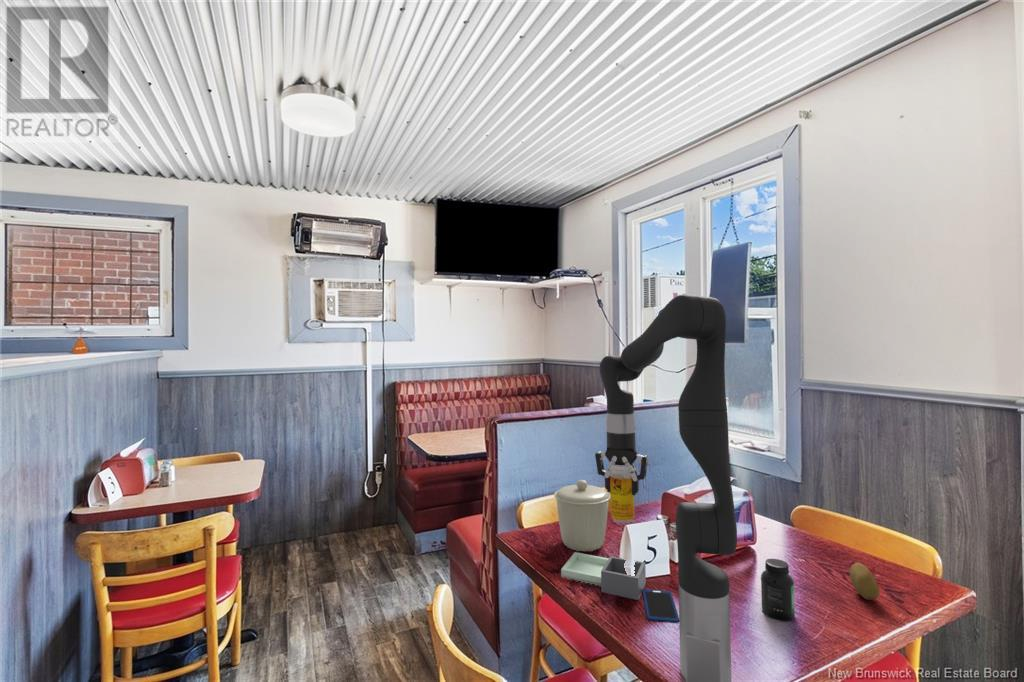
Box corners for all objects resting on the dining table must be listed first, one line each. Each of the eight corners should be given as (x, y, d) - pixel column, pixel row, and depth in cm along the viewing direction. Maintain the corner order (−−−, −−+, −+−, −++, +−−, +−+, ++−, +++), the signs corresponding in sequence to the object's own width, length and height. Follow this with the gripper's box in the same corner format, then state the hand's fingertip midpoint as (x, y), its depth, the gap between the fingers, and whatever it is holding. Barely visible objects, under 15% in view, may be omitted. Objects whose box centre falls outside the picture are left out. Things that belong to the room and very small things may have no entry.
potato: (875, 608, 114) (875, 575, 114) (840, 594, 120) (840, 563, 120) (889, 600, 117) (888, 567, 117) (854, 587, 124) (853, 556, 124)
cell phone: (671, 593, 123) (670, 590, 123) (680, 624, 109) (680, 621, 109) (641, 591, 124) (641, 588, 124) (647, 621, 110) (647, 618, 110)
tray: (603, 586, 126) (603, 577, 126) (561, 577, 131) (561, 569, 131) (614, 567, 137) (614, 559, 137) (575, 560, 142) (575, 552, 142)
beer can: (608, 521, 124) (607, 464, 125) (614, 514, 130) (613, 459, 130) (631, 525, 122) (629, 466, 122) (636, 517, 127) (635, 461, 127)
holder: (638, 600, 119) (638, 578, 119) (601, 592, 123) (601, 570, 123) (645, 582, 128) (645, 562, 128) (610, 575, 132) (610, 556, 132)
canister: (546, 538, 158) (545, 475, 159) (595, 531, 164) (594, 470, 164) (569, 561, 141) (567, 491, 141) (622, 553, 146) (621, 484, 147)
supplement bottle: (801, 619, 110) (800, 567, 110) (776, 623, 108) (775, 571, 108) (779, 604, 116) (778, 555, 116) (755, 607, 115) (754, 558, 115)
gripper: (590, 430, 126) (591, 493, 126) (645, 433, 120) (646, 500, 119) (598, 426, 133) (599, 486, 132) (650, 429, 126) (652, 492, 126)
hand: (622, 492), depth 126 cm, fingers closed on beer can, 6 cm apart
